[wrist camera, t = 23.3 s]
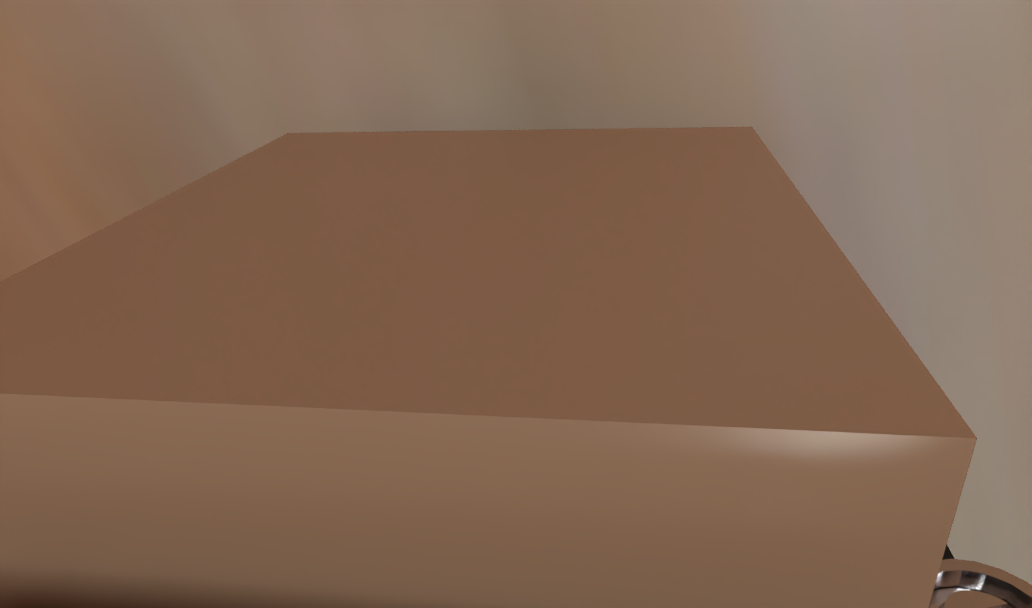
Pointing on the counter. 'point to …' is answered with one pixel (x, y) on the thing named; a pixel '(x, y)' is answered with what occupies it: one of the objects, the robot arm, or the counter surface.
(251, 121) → the counter surface
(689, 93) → the counter surface
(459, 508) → the tan cardboard-coloured box
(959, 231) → the counter surface
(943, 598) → the robot arm
